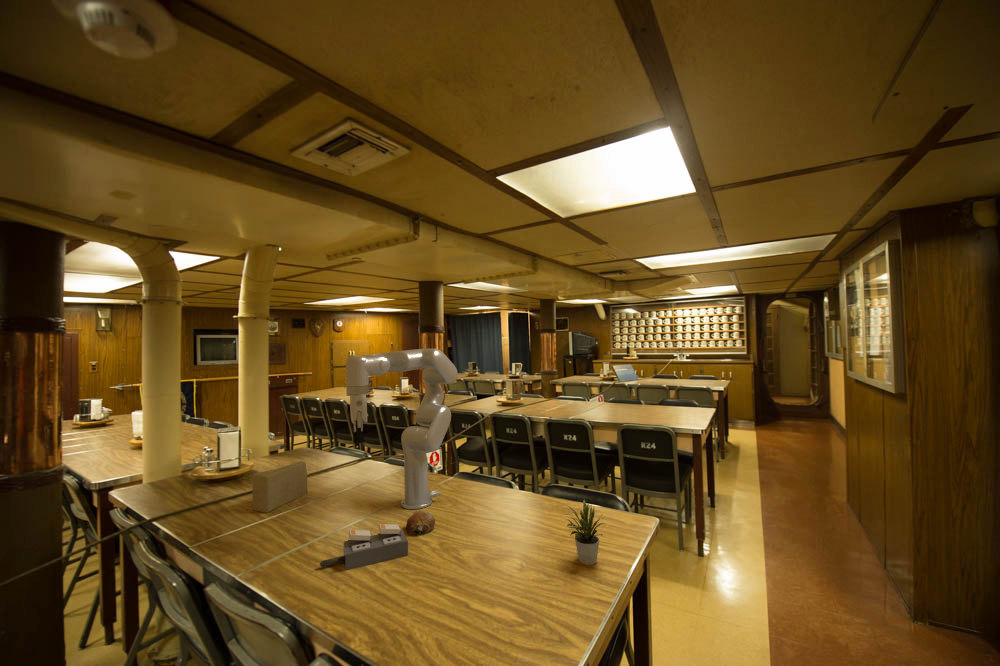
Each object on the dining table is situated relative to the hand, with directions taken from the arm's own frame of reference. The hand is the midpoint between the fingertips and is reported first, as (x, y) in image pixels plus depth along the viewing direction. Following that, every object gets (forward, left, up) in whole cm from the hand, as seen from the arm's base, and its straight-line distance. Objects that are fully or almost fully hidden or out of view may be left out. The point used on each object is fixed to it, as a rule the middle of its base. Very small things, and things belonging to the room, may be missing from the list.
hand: (358, 442), depth 142 cm
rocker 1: (+2, +18, -25) cm, 31 cm away
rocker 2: (-8, +18, -25) cm, 31 cm away
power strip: (0, +20, -31) cm, 37 cm away
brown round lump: (-20, +8, -32) cm, 38 cm away
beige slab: (+26, -46, -31) cm, 61 cm away
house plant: (-59, +51, -31) cm, 84 cm away
